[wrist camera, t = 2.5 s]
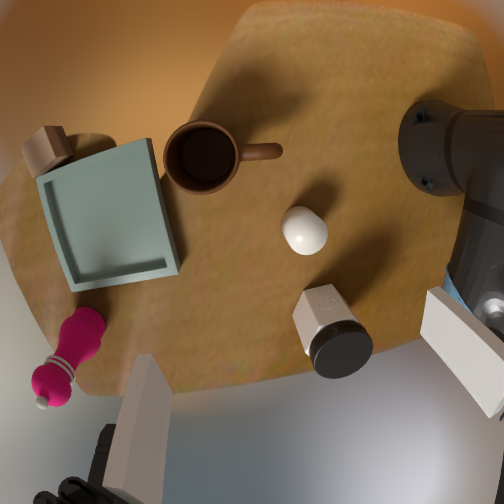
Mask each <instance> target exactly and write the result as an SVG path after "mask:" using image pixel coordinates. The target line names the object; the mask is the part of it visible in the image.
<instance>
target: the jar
mask: <svg viewBox="0 0 504 504" xmlns="http://www.w3.org/2000/svg"><path fill="white" fill-rule="evenodd" d="M292 316H293V319H294V322H295V325H296V327H297V330H298V333H299V336H300V339H301V342H302V345H303V347H304V350H305V353H306V354H307V355H308V356H310V358H311V361H312V364H313V367H314V369H315V371H316V372H317V373H318V374H319V375H320V376H322V377H325V378H330V379H337V378H342V377H345V376H348V375H351V374H352V373H354V372H356V371H358V370H359V369H360V368H361V367H362V366H364V364H365V363H366V362H367V361H368V359H369V358H370V356H371V354H372V351H373V342H372V339H371V337H370V336H369V334H368V332H367V331H366V329H365V328H364V326H363V325H362V323H361V322H360V320H359V319H358V318H357V316H356V315H355V313H354V312H353V310H352V309H351V307H350V306H349V304H348V303H347V301H346V300H345V299H344V298H343V296H342V295H341V294H340V293H339V292H338V290H337V289H336V288H335V287H334V286H333V284H328V285H324V286H320V287H316V288H311V289H307V290H304V291H303V292H302V294H301V296H300V299H299V301H298V303H297V305H296V307H295V310H294V312H293V314H292Z"/></svg>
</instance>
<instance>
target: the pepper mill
mask: <svg viewBox="0 0 504 504" xmlns="http://www.w3.org/2000/svg"><path fill="white" fill-rule="evenodd" d="M105 330H106V325H105V322H104V319H103V318H102V316H101V315H100V314H99V313H98V312H97V311H96V310H94V309H92V308H89V307H80V308H78V309H77V310H76V311H75V312H74V314H73V315H72V316H71V317H68V318H67V319H66V320H65V321H64V322H63V324H62V326H61V328H60V332H59V342H58V348H57V350H56V352H55V354H53V355H52V356H48V357H47V359H46V361H45V362H44V365H41V366H39V367H37V368H36V369H35V371H34V372H33V375H32V388H33V390H34V392H35V394H36V395H37V396H38V397H37V399H36V404H37V406H38V407H39V408H41V409H46V408H47V407H48V405H50V406H57V407H58V406H62V405H64V404H65V403H66V402H67V401H68V400H69V398H70V396H71V385H72V384H73V381H74V380H75V378H76V374H75V370H76V369H77V367H78V365H79V364H81V363H82V362H84V361H86V360H88V359H89V358H91V357H92V356H94V355H95V354H96V352H97V351H98V349H99V348H100V345H101V338H102V336H103V334H104V332H105Z"/></svg>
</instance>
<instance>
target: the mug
mask: <svg viewBox="0 0 504 504" xmlns="http://www.w3.org/2000/svg"><path fill="white" fill-rule="evenodd" d="M282 153H283V149H282V146H281V145H280V144H278V143H260V144H245V145H239V144H238V142H237V140H236V138H235V137H234V135H233V134H232V133H231V131H230V130H228V129H227V128H226V127H225V126H223V125H221V124H219V123H217V122H214V121H209V120H196V121H191V122H188V123H186V124H184V125H182V126H181V127H179V128H178V129H177V130H176V131H175V132H174V133H173V134H172V135H171V136H170V138H169V139H168V141H167V143H166V146H165V149H164V155H163V162H164V168H165V171H166V173H167V175H168V177H169V179H170V180H171V181H172V183H173V184H174V185H175V186H177V187H178V188H179V189H181V190H183V191H185V192H187V193H190V194H195V195H206V194H211V193H214V192H216V191H218V190H220V189H222V188H223V187H225V186H226V185H227V184H228V183H229V182H230V181H231V180H232V178H233V177H234V176H235V174H236V172H237V170H238V167H239V163H240V162H241V161H251V160H268V159H276V158H279V157H280V156H281V155H282Z"/></svg>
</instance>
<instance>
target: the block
mask: <svg viewBox="0 0 504 504" xmlns="http://www.w3.org/2000/svg"><path fill="white" fill-rule="evenodd" d="M21 151H22V153H23V156H24V159H25V161H26V164H27V167H28V169H29V172H30V174H31V176H32V178H34V177H38V176H42V175H44V174H47V173H49V172H51V171H53V170H55V169H57V168H58V167H59V166H60V165H62V164H63V163H64V162H65V161H67V160H68V159H69V158H70V157H72V156H73V155H74V154H73V152H72V149H71V147H70V145H69V142H68V140H67V137H66V135H65V132H64V129H63V127H62V126H43V127H42V128H40V130H38V131H37V132H36V133H35V134H34V135H33V136H32V137H31V138H30V139H29V140H28V141H27V142H26V143H25V144H24V145H23V146H22V147H21Z"/></svg>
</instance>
